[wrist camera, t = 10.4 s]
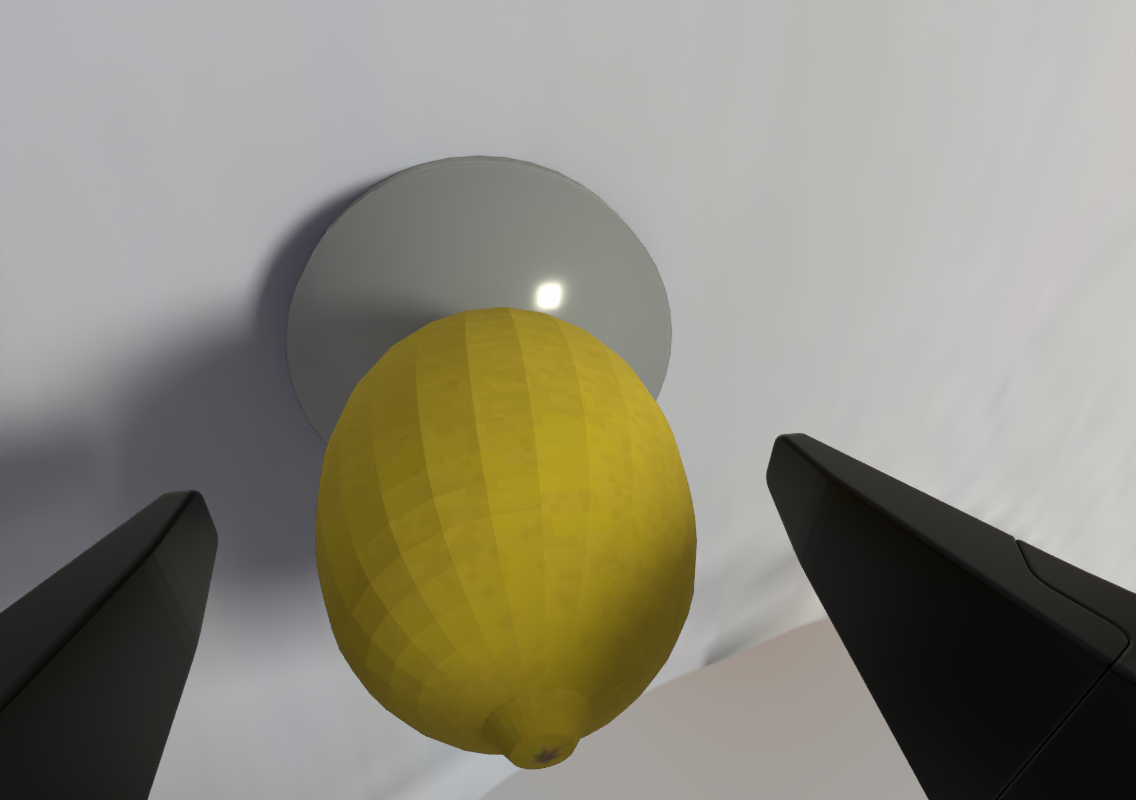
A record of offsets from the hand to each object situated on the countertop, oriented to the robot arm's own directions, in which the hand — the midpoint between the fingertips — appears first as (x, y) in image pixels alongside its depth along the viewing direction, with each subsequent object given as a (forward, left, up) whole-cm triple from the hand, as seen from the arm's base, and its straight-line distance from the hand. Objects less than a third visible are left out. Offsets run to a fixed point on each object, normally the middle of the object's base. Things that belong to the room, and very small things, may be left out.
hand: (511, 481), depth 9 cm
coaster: (0, 0, -5) cm, 5 cm away
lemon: (0, 0, -4) cm, 4 cm away
